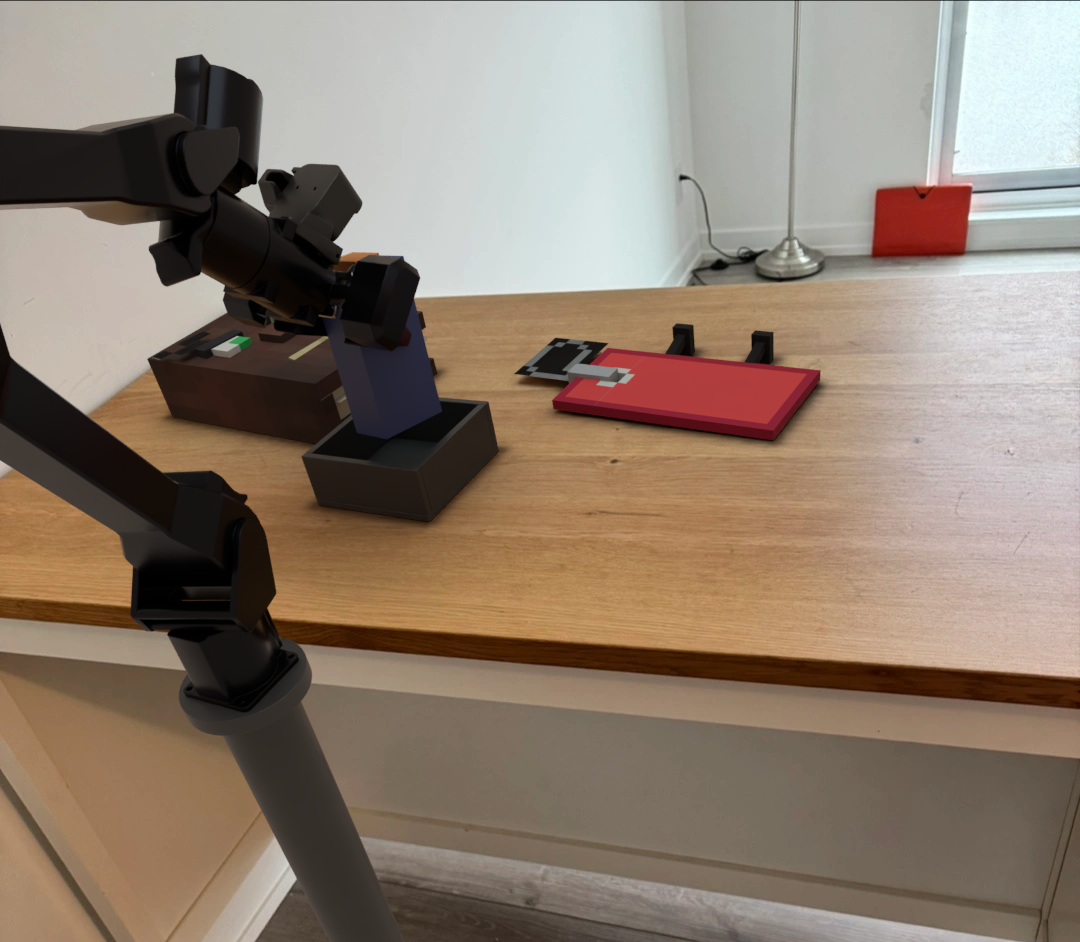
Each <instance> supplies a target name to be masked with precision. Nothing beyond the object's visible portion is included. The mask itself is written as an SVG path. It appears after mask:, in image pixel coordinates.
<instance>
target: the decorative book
mask: <svg viewBox="0 0 1080 942" xmlns="http://www.w3.org/2000/svg"><path fill="white" fill-rule="evenodd" d="M417 313H418V317H419V321H420V325H421V329H422V331H423V330H425V329H426V328H427V325H426V322H425V317H424V313H423V311H421V310H417ZM257 314H258V313H257ZM258 315H260V314H258ZM260 316H261V315H260ZM262 317H264V318H266V320H267V323H266V327H265V328H260V327H255V326H250V325H245V324H243V323H241V322H240V321H238V320H236V319H234V318H232V317H230V316H228V313H227V312H226V313H224V314H222V315H221V316H219V317H217V318H216V319H214V320H212V321H210V322H208V323H206V324H205V325H203V326H202V327H200V328H198V329H196V330H194V331H193V332H191V333H189V334H188V335H186V336H184V337H182V338H181V339H179V340H177V341H176V342H174V343H172V344H170V345H169V346H167V347H164V348H163V349H161V350H160V351H158V352H156V353H155V354H153V355H151V356H150V357H148V358H146V359H147V362H148V364H149V367H150V370H151V371H152V373H153V376H154V378H155V380H156V383H157V385H158V387H159V389H160V392H161V395H162V397H163V398H164V401H165V403H166V405H167V408H168V410H169V413H170V414H171V415H170V416H171V417H172V418H176V419H181V420H182V419H183V420H187V421H193V422H198V423H203V424H209V425H214V426H219V427H224V428H229V429H235V430H240V431H244V432H251V433H255V434H262V435H265V436H266V435H267V436H272V437H277V438H283V439H287V440H294V441H298V442H302V443H303V442H304V443H309V444H313V445H316V444H317V443H318V442H319V441H320V440H322V439H323V438H324V437H325V436H326V435H328V434H329V433H330V432H331V431H332V430H334V429H335V428H336V427H337V426H338V425H340V424H341V423H342V422H343V421H344V420H346V419H347V418H348V417H349V416H351V412H350V408H349V405H348V402H347V398H346V395H345V392H344V389H343V385H342V382H341V379H340V375H339V372H338V369H337V365H336V362H335V359H334V356H333V352H332V349H331V346H330V342H329V339H328V337H324V336H308V335H295V334H290V333H284V332H279V331H276V330H275V329H274V326H273V325H274V320H275V319H273V318H271V317H267V316H262ZM423 337H424V341H425V342H426V341H427V340H428V339H429V338H430V336H423ZM429 361H430V365H431V369H432V373H433V377H434V376H435V375H437V374H438V371H437V367H436V363H435V359H434V357H429Z"/></svg>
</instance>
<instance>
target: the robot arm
mask: <svg viewBox="0 0 1080 942" xmlns="http://www.w3.org/2000/svg"><path fill="white" fill-rule="evenodd" d="M174 65H175V66H174V85H175V89H174V90H175V91H174V104H173V112H172V113H164V114H158V115H150V116H145V117H138V118H131V119H124V120H117V121H110V122H103V123H98V124H91V125H88V126H84V127H81V128H76V129H61V128H47V127H31V126H13V125H0V211H8V210H9V211H10V210H32V209H58V208H59V209H60V208H61V209H62V208H68V209H69V208H70V209H73V210H78V211H81V213H82V214H83V215H84V216H86V218H88V219H91V220H95V221H99V222H104V223H108V224H111V225H117V226H129V225H138V224H147V223H148V224H149V223H154V222H155V223H156V222H159V224H158V225H159V227H158V239H157V242H155V243H152V244H150V245H149V246H148V252H149V254H150V255H151V256H152V259H153V261H154V264H155V271H156V274H157V276H158V278H159V282H160V284H162V286H164V287H166V288H168V287H172V286H174V285H176V284H179V283H182V282H184V281H188V280H190V279H193V278H196V277H199V276H200V275H201V273H202V274H203V275H205V276H208V277H209V278H210V279H213V280H215V281H216V282H218V283H220V284H221V285H223V286H224V287H223V291H222V292H224V294H223V298H222V302H223V305H224V308H225V311H226V313H228V316H230V317H232V318H234V319H236V320H238V321H240V322H241V323H243V324H245V325H250V326H255V327H260V328H265V327H266V323H267V320H266V318H264V317H262V316H267V317H271V318H273V319H275V320H274V325H273V326H274V329H275V330H276V331H279V332H284V333H290V334H295V335H308V336H324V337H328V335H327V332H326V329H325V325H324V322H323V319H322V317H325V318H331V319H335V318H336V317H337V314H338V311H339V306H338V305H342V307H341V311H342V313H341V317H340V322H341V326H342V329H343V332H344V336H345V341H344V343H345V344H349V345H355V346H360V347H365V348H375V349H380V350H386V351H391V352H392V351H393V350H395V349H396V348H397V347H398V346H408V345H409V342H410V339H411V332H410V331H409V329H408V328H407V326H406V323H407V319H408V316H409V313H410V310H411V306H412V303H413V300H414V301H415V297H416V293H417V290H418V286H419V284H420V281H421V276H420V273H419V270H418V268H416V267H414V266H413V265H411V264H410V263H409V262H407V261H406V260H405V259H404V260H403V259H402V258H396V257H387V256H388V255H383V256H378V255H368V256H366V257H364V258H362V259H360V260H358V261H357V263H356V264H353V265H352V266H351V267H350V268H349V269H348V271H347V272H343V271H335V270H333V267H334V265H338V264H339V261H340V258H341V256H342V254H343V251H344V248H342V247H341V246H339V245H338V243H335V241H336V240H337V239H338V238H339V237H340V236H341V235H342V233H343V232H344V230H345V228H346V227H347V226H348V224H349V222H350V221H351V220H352V218H353V217H354V215H357V214H359V212H360V211H361V209H362V207H363V200H362V198H361V197H360V195H359V194H358V193H357V191H356V189H355V188H354V186H353V185H352V183H351V181H349V179H348V177H347V175H345V173H344V171H343V170H342V168H341V167H340V166H339V165H338V164H327V163H307V164H304V165H302V166H301V167H299V166H293V167H292V169H291V170H290V172H291V173H289V172H288V171H286V170H284V169H280V168H279V169H278V168H266V169H265V171H264V172H263V173H262V175H261V176H260V177H259V179H258V175H259V163H260V162H259V161H260V150H261V137H262V136H261V135H262V123H263V110H264V109H263V107H264V96H263V93H262V90H261V89H260V86H259V85H258V84H257V83H256V81H254V79H251V78H247V77H246V76H245V75H243V74H241V73H239V72H238V71H235V70H233V69H231V68H228V67H225V66H222V65H218V64H217V65H216V64H211V63H210V62H209V61H208V59H207V58H206V57H205V55H203V54H202V53H200V54H193V55H188V56H181V57H177V58H175V63H174ZM257 184H258V189H259V191H260V195H261V199H262V202H263V206H264V207H265V209H266V210H267V211H268V215H267V214H266V213H264V212H262V211H261V210H260V209H257V208H256V207H255V206H253V205H251V204H250V203H248V202H247V201H245V200H244V199H242V198H240V196H238V195H237V194H238V193H240V192H241V191H242V189H246V188H248V187H250V186H256V185H257ZM348 284H350V286H348ZM334 304H335V305H334ZM257 313H258V314H260V315H261V316H260V315H258V314H257ZM0 461H1V462H2V463H3V464H5V465H7V466H8V467H10V468H11V469H13V470H15V471H16V472H18V473H19V474H20V475H23V476H24V477H26V478H28V479H29V480H31V481H32V482H34V483H36V484H37V485H39V486H40V487H42V488H44V489H45V490H47V491H48V492H50V493H52V494H53V495H55V496H56V497H58V498H60V499H61V500H63V501H65V502H66V503H68V504H69V505H71V506H73V507H74V508H76V509H78V510H79V511H80V512H82V513H84V514H85V515H87V516H89V517H90V518H92V519H94V520H95V521H97V522H98V523H100V524H102V525H103V526H105V527H107V528H108V529H109V530H111V531H113V532H114V533H116V534H117V535H118V537H119V542H120V546H121V547H120V548H121V551H122V556H123V557H124V559H125V560H126V562H127V563H128V564H130V565H131V566H132V575H131V576H132V577H131V595H130V618H131V619H132V620H133V621H134V622H135V623H136V624H137V625H138V626H139V627H141V629H143V630H144V631H145V632H155V631H168V632H167V634H166V636H167V638H168V639H169V641H170V644H171V645H172V647H173V649H174V651H175V653H176V655H177V657H178V659H179V661H180V663H181V665H182V666H183V668H184V670H185V672H186V675H187V674H188V676H189V678H190V680H191V682H190V683H189V684H188V685H187V686H186V687H185V688H184V689H183V692H184V694H185V696H186V697H189V698H193V699H196V700H200V701H203V702H207V703H210V704H214V705H218V706H221V707H225V708H228V709H232V710H235V711H239V712H243V713H245V712H249V711H250V710H252V709H253V708H254V707H255V706H256V705H257V703H258V702H259V701H260V700H261V699H262V698H263V697H264V696H265V695H266V694H267V693H268V692H269V691H270V690H271V689H272V688H273V687H274V686H275V685H276V684H277V683H278V682H279V681H280V680H281V679H282V678H283V677H284V676H285V675H286V674H287V673H288V672H289V671H290V670H291V669H292V668H293V667H294V665H295V664H296V663H297V662H298V661H299V657H298V655H297V653H295V652H290V651H286V650H282V649H281V647H282V646H283V645H282V641H281V638H280V637H281V636H280V634H279V632H278V629H277V627H276V625H275V623H274V620H273V617H272V616H271V613H270V611H269V610H270V609H269V608H268V607H270V604H271V603H272V601H273V600H274V598H275V597H276V595H277V587H276V582H275V575H274V571H273V565H272V559H271V553H270V548H269V544H268V537H267V535H266V532H265V529H264V526H263V525H262V524H261V521H260V519H259V517H258V515H257V514H256V513H255V512H254V511H253V509H252V508H251V507H250V506H249V505H248V504H246V502H247V501H248V499H249V497H248V494H245V493H240V492H238V491H237V490H235V489H234V488H233V487H232V486H230V484H229V483H228V482H227V480H226V479H225V478H224V477H223V476H222V475H220V474H219V473H216V472H215V471H213V470H190V471H186V470H185V471H165V472H164V471H161V470H160V469H158V467H156V466H154V465H153V463H151V462H149V461H148V460H147V459H145V458H144V457H143V456H142V455H140V454H139V453H137V452H136V451H135V450H133V449H132V448H131V447H129V446H128V445H127V444H126V443H124V442H123V441H122V440H121V439H119V438H118V437H116V436H115V435H114V434H112V433H111V432H110V431H108V429H106V428H104V427H103V426H101V424H99V423H98V422H96V421H95V420H94V419H92V417H90V416H89V415H88V414H86V413H84V412H83V411H82V410H80V408H79V407H77V406H75V405H74V404H73V403H71V401H69V400H68V399H66V398H65V397H64V396H62V395H61V394H59V393H58V392H57V391H56V390H54V389H53V388H52V387H50V386H49V385H48V384H46V383H45V382H44V381H43V380H41V379H39V377H37V376H36V375H35V374H33V373H32V372H31V371H29V370H28V369H27V368H25V367H24V366H23V365H21V364H20V363H19V362H17V361H16V359H14V358H13V357H12V356H11V353H10V351H9V347H8V344H7V341H6V337H5V334H4V331H3V327H2V324H1V323H0Z"/></svg>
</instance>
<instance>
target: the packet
mask: <svg viewBox="0 0 1080 942" xmlns="http://www.w3.org/2000/svg"><path fill="white" fill-rule="evenodd" d="M368 255H378V256H384V254H383V255H380V253H379V252H365V251H364V252H363V251H361V252H360V251H358V252H357V251H353V252H352V251H351V252H349V253H347V254H344V255H341V258H340V261H339V264H338V265H334V267H333V270H335V271H343V272H347V271H348V269H349V268H350V267H351V266H352V265H353V264H356V263H357V261H358V260H360V259H362V258H364V257H366V256H368ZM386 256H387V257H396V258H402V259H403V260H404V261H405V258H404V255H386ZM348 286H350V284H348ZM334 305H335V304H334ZM338 306H339V311H338V314H337V317H336V318H335V319H331V318H325V317H322V319H323V322H324V325H325V329H326V332H327V335H328V339H329V342H330V346H331V349H332V352H333V356H334V359H335V362H336V365H337V369H338V372H339V375H340V379H341V382H342V385H343V389H344V392H345V395H346V398H347V402H348V405H349V408H350V412H351V415H352V418H353V421H354V425H355V428H356V431H357V433H359V434H364V435H368V436H373V437H378V438H382V439H389V438H391V437H393V436H395V435H397V434H399V433H401V432H403V431H405V430H407V429H409V428H411V427H413V426H415V425H417V424H418V423H420V422H422V421H424V420H426V419H428V418H430V417H432V416H434V415H436V414H438V413H440V412H442V409H441V405H440V401H439V397H440V396H439V392H438V389H437V386H436V381H435V377H434V376H433V373H432V369H431V365H430V361H429V358H430V357H429V354H428V349H427V345H426V340H425V341H424V337H425V336H424V333H423V330H422V329H421V325H420V321H419V317H418V313H417V311H418V309H417V304H416V301H415V299H414V300H413V303H412V306H411V310H410V313H409V316H408V319H407V323H406V326H407V328H408V329H409V331H410V332H411V339H410V342H409V345H408V346H398V347H397V348H396V349H395V350H393V351H392V352H391V351H386V350H380V349H375V348H365V347H360V346H355V345H349V344H345V343H344V341H345V336H344V332H343V329H342V326H341V322H340V317H341V313H342V311H341V307H342V305H338Z"/></svg>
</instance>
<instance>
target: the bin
mask: <svg viewBox="0 0 1080 942" xmlns="http://www.w3.org/2000/svg"><path fill="white" fill-rule="evenodd" d="M438 397H439V401H440V405H441V409H442V412H440V413H438V414H436V415H434V416H432V417H430V418H428V419H426V420H424V421H422V422H420V423H418V424H417V425H415V426H413V427H411V428H409V429H407V430H405V431H403V432H401V433H399V434H397V435H395V436H393V437H391V438H389V439H382V438H378V437H373V436H368V435H364V434H359V433H357V431H356V428H355V425H354V421H353V418H352V415H351V416H349V417H348V418H347V419H346V420H344V421H343V422H342V423H341V424H340V425H338V426H337V427H336V428H335V429H334V430H332V431H331V432H330V433H329V434H328V435H326V436H325V437H324V438H323V439H322V440H320V441H319V442H318V443H317V444H313V446H311V448H309V449H308V450H306V452H305V453H303V454H302V455H301V456H300V457H301V460H302V463H303V465H304V468H305V471H306V474H307V478H308V479H309V482H310V485H311V488H312V491H313V494H314V496H315V500H316V503H317V506H322V507H329V508H335V509H342V510H348V511H355V512H362V513H369V514H374V515H380V516H381V515H382V516H387V517H394V518H400V519H401V518H402V519H407V520H415V521H421V522H428V523H430V522H431V521H432V520H433V519H434V518H435V517H436V516H437V515H439V513H440V512H441V511H442V510H443V509H444V508H445V507H446V506H447V505H448V504H449V503H450V502H451V501H452V499H454V497H456V496H457V494H458V493H460V491H461V490H463V488H464V487H465V486H466V485H467V484H468V483H470V481H471V480H472V479H473V478H474V477H475V476H476V475H477V474H478V473H479V472H480V471H481V470H482V469H483V468H484V467H485V466H486V465H487V464H488V463H489V462H490V461H491V460H492V459H493V458H494V457H495V456H496V455H497V454H498V452H500V449H499V445H498V441H497V435H496V430H495V426H494V421H493V416H492V411H491V406H490V402H489V401H487V400H476V399H463V398H453V397H440V396H438Z"/></svg>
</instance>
